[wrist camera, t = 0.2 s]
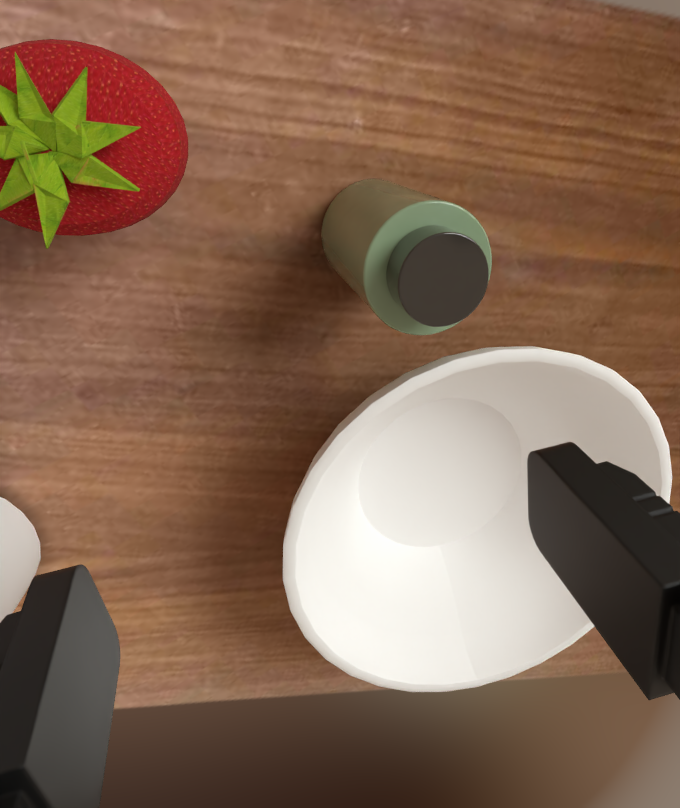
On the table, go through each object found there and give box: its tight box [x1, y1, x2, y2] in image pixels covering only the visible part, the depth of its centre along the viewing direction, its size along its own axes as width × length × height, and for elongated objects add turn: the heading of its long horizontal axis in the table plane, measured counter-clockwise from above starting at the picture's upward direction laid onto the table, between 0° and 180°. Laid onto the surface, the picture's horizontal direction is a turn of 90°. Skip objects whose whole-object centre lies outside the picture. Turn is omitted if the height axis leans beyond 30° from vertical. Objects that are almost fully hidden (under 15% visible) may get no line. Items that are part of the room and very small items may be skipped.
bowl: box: [283, 346, 672, 692], centre depth 32 cm, size 20×20×7 cm
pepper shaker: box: [321, 179, 492, 335], centre depth 25 cm, size 5×5×10 cm
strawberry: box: [0, 39, 188, 249], centre depth 21 cm, size 6×8×10 cm
